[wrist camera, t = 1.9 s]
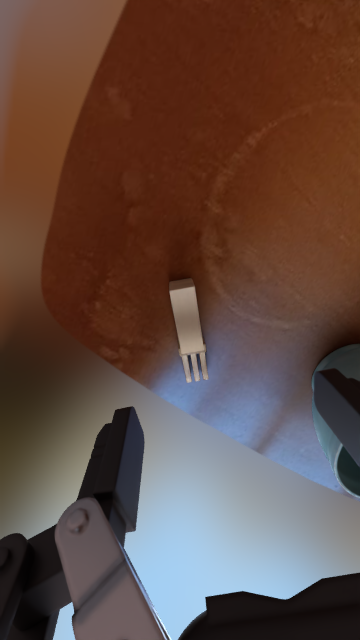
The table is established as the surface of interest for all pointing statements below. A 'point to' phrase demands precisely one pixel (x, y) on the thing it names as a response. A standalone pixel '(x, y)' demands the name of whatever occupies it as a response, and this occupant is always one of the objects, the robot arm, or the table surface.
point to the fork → (188, 326)
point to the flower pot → (354, 479)
